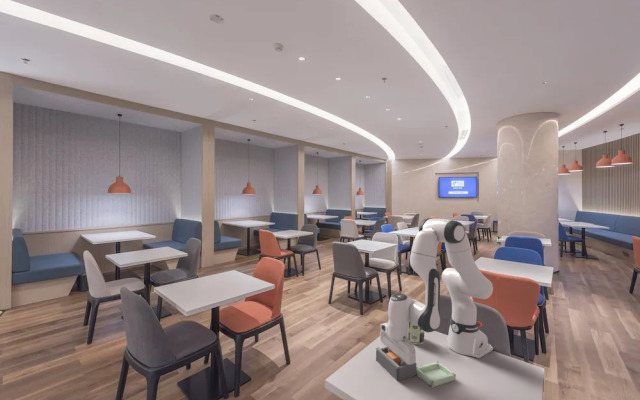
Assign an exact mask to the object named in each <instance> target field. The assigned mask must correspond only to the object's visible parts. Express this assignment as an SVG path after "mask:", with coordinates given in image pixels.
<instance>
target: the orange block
mask: <svg viewBox="0 0 640 400" xmlns="http://www.w3.org/2000/svg"><path fill="white" fill-rule="evenodd" d="M386 355H388V356H389V357H390V358H391V359H392V360H393V361H394V362H395V363H397V364H398V365H399V362H401V358H400V357H398V356H397V355H396V354H395V353H394V352H389V353H386ZM404 365H407V363H405V364H404Z"/></svg>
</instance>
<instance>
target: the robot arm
mask: <svg viewBox="0 0 640 400" xmlns="http://www.w3.org/2000/svg"><path fill="white" fill-rule="evenodd" d="M440 243H444V246H445V250H446V251H445V252H446V256H447V260H448V263H449V265H450V266H451V267H447V268H445V269H444V270H443V271H442V272H441V277H440V272H439V271H438V269H437V255H438V245H439V244H440ZM409 264H410V267H411V268H412V270H413V271H414V272H415V273H416V274H417V275H418V276H419V277H420V278H421V279H422V282H424V285H425V286H424V287H425V299H424V300H425V301H424V302H425V303H423V302H421V301H419V300H417V299H415V298H412V297H411V298H410V297H409V296H408V295H406V294H404V293H394V294H392V295H391V296H390V298H389V302H388V306H387V307H388V310H387V315H388V320H387V322H384V323H380V333H379V337H380V338H379V339H380V341H381V343H382V344H383V345H384V346H385V347H387V349H388V353H389V352H394V353H395V354H396V355H397V356H398V357H400V358H401V362H399V366H403V365H404V364H405V363H407V364H408V365H411V364H414V363H416V362H417V361H416V360H417V356H416V348H415V344H412V342H411V341H410V340H408V339H407V338H408V323H409V322H412V323H414V324H415V325H417V326H419V327H420V328H421V329H422V330H424V333H433V332H435V331H436V330H438V329H439V328H440V326H441V323H442V322H441V321H442V318H441V310H440V307H441V305H440V304H441V303H440V302H441V282H442V283H443V285H444V286H445V287H446V289H447V291H448V293H449V297H450V300H451V316H450V321H449V322H450V325H449V329H448V336H446V345H447V346H448V349H451V350H452V351H453V352H455V353H458V354H460V355H463V356H470V357H474V358H477V359H480V358H482V357H484V356H485V355H487V354H489V353H490V352H492V351H493V350H494V347H493V346H492V345H491V344H490V343H489V341H488V340H489V339H488V336H487V334H485V333H484V332H483V331H482V330H480V329H479V327H480V328H481V327H483V323H482V322H480V321H477V317H478V315H477V314H478V309H477V305H476V304H475V303H474V302H473V301H472V299H471V298H470V297H472V298H475V299H479V300H480V299H481V300H487V299H489V298H490V297H491V296H492V294H493V291H494V286H493V283H492V281H491V280H490V279H489V278H487V277H486V276H485V275H484V274H483V273H482V272H481V270H480V269H479V267H478V266H477V264H476V261H475V259H474V255H473V252H472V247H471V243H470V240H469V237H468V234H467V232H466V227H464V224H462V223H461V222H460V221H459V220H453V219H446V218H433V217H428V218H424V219H422V221H421V222H420V224H419V227H418V231H417V233H416V234H415V237H414V240H413V242H412V246H411V250H410V255H409Z"/></svg>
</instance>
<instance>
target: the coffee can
mask: <svg viewBox="0 0 640 400" xmlns="http://www.w3.org/2000/svg"><path fill="white" fill-rule="evenodd" d="M407 339H408V340H410V341H411V342H412V344H413V345H417V346H418V345H423V344H425V331H424V330H422V329H421V328H420V327H419V326H417V325H415V324H414V323H412V322H409V323H408V338H407Z"/></svg>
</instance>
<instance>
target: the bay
mask: <svg viewBox="0 0 640 400" xmlns="http://www.w3.org/2000/svg"><path fill="white" fill-rule="evenodd" d="M375 349H376V350H375V351H376V353H375V361H376V362H377V363H378V364H379V365H380V366H381V367H382V368H383V369H384V370H385V371H386V372H387V373H389V375H390V376H392V378H394V379H395V380H396V381H397V382H398V381H402V380H405V379H408V378H411V377H414V376H417V375H416V367H418V365H417V363H416V362H415V363H414V364H411V365H408V364H407V365H403V366H399V365H398V364H397V363H395V362H394V361H393V360H392V359H391V358H390V357H389V356H388V355H386V353H388V349H387V346H385V347H381V348H380V347H379V346H377V347H375Z"/></svg>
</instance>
